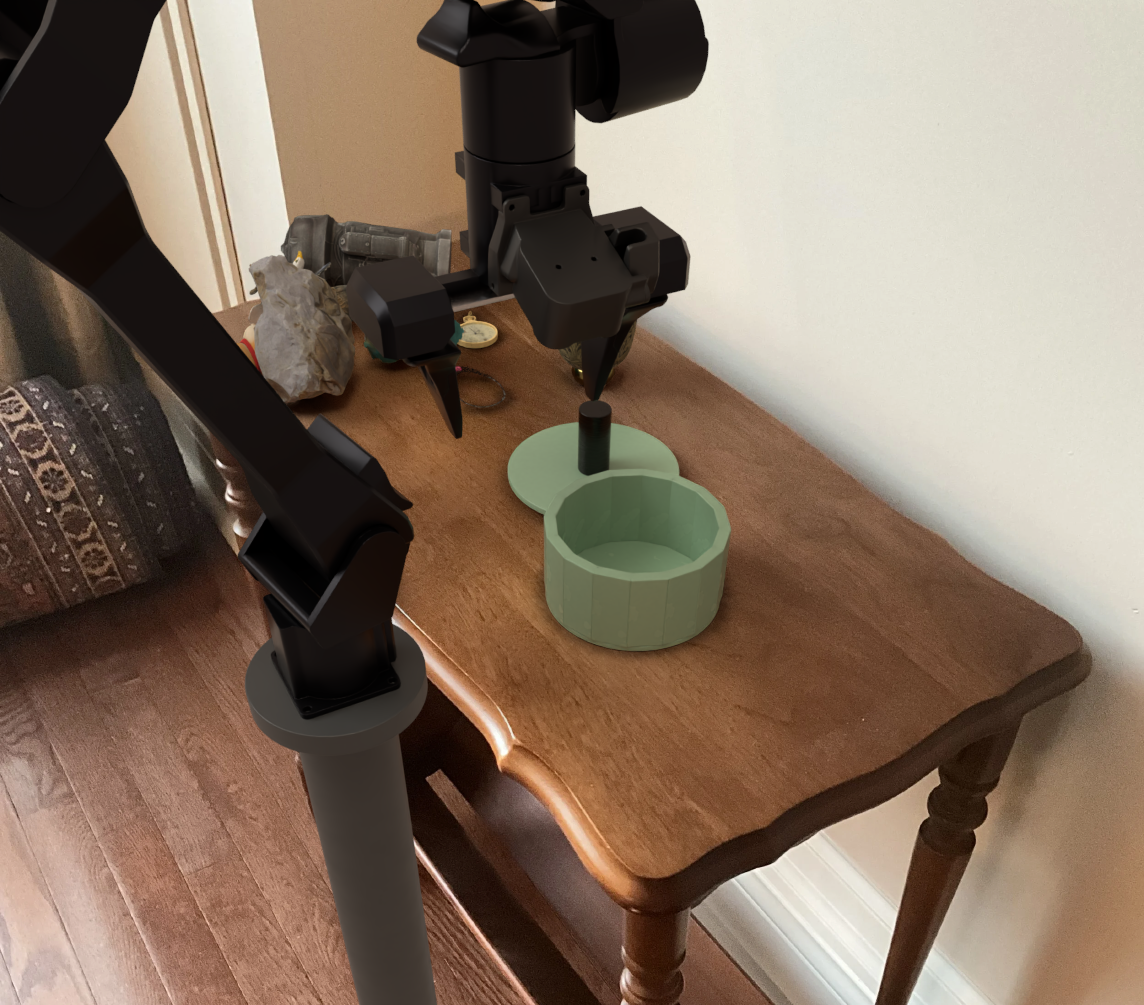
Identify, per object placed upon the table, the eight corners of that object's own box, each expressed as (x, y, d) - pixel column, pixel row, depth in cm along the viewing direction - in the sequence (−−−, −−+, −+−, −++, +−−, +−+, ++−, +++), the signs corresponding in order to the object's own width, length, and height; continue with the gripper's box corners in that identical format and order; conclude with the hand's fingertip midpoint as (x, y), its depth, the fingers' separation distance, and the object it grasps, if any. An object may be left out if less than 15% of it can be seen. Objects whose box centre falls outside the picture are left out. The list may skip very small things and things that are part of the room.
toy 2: (448, 315, 110) (285, 299, 108) (452, 251, 109) (288, 233, 107) (447, 289, 101) (271, 271, 100) (451, 219, 101) (274, 200, 99)
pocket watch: (501, 346, 103) (501, 340, 102) (457, 351, 102) (457, 345, 102) (488, 313, 106) (488, 307, 106) (446, 317, 106) (445, 312, 105)
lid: (608, 554, 83) (611, 481, 78) (472, 486, 88) (468, 414, 84) (711, 474, 90) (720, 402, 85) (580, 415, 95) (581, 345, 91)
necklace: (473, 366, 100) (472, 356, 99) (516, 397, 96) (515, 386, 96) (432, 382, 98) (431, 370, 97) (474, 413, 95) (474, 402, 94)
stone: (381, 405, 99) (345, 372, 89) (301, 431, 100) (257, 402, 90) (343, 275, 98) (303, 228, 88) (263, 303, 99) (215, 259, 89)
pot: (597, 673, 74) (600, 601, 70) (515, 568, 82) (513, 497, 77) (754, 617, 78) (766, 546, 74) (662, 521, 85) (668, 451, 81)
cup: (531, 377, 99) (529, 285, 93) (594, 348, 102) (597, 258, 96) (590, 412, 95) (593, 319, 89) (654, 381, 99) (660, 289, 93)
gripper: (409, 240, 51) (436, 530, 63) (761, 166, 57) (726, 443, 69) (323, 153, 58) (362, 430, 70) (647, 95, 64) (633, 358, 76)
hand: (525, 416), depth 71 cm, fingers open, 9 cm apart
